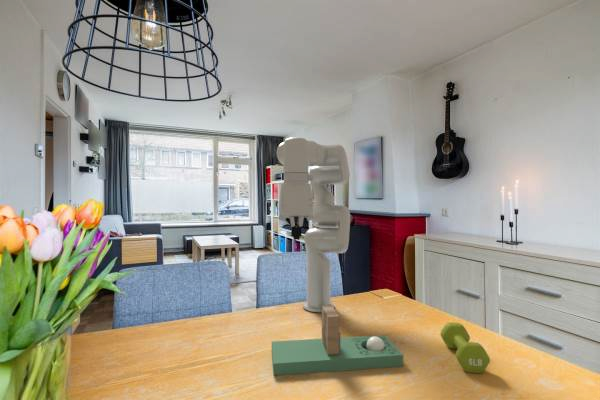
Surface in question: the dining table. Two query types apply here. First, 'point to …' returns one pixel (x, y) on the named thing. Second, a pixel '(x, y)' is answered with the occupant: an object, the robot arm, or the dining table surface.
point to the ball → (375, 344)
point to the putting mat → (332, 356)
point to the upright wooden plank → (330, 330)
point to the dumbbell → (465, 348)
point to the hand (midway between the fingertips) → (296, 239)
